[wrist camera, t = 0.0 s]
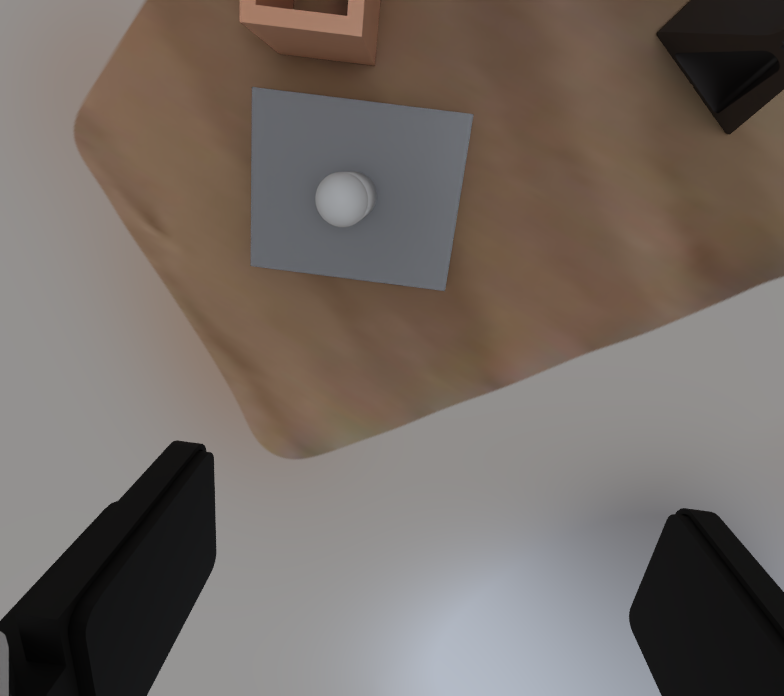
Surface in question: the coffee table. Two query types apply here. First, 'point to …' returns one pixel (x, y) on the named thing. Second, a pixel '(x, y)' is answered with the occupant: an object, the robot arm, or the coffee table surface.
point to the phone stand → (730, 54)
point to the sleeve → (315, 30)
